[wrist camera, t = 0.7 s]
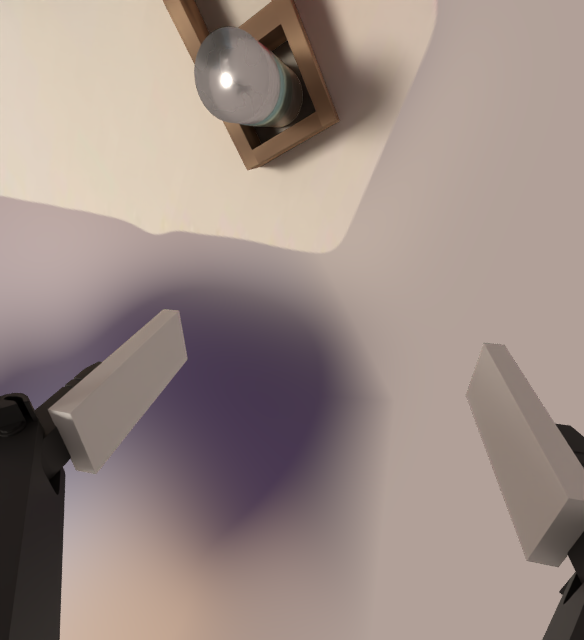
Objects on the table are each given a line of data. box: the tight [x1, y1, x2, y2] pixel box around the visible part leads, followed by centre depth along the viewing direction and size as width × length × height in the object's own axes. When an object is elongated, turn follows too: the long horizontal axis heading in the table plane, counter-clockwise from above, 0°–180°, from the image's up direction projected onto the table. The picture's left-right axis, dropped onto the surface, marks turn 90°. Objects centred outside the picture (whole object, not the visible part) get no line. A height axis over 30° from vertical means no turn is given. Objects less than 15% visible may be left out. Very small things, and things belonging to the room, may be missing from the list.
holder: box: [163, 0, 339, 170], centre depth 29 cm, size 17×9×4 cm, turn 27°
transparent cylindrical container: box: [194, 27, 303, 128], centre depth 27 cm, size 5×5×12 cm
